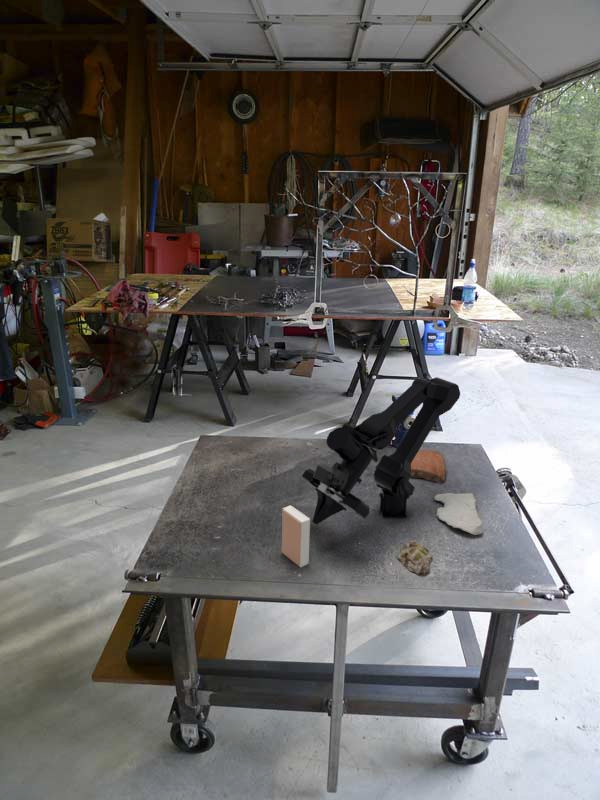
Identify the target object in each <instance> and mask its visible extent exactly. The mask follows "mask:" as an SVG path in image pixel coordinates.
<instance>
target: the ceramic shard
mask: <svg viewBox="0 0 600 800" xmlns="http://www.w3.org/2000/svg"><path fill="white" fill-rule="evenodd" d="M446 467H447V466H446V460H445V457H444V455H443V454H442V453H441V452H438V451H436V450H432V449H426V450H419V451H418V452H417V454H416V456H415V457H414V459H413V461H412V463H411V477H410V478H412V479H416V478H417V479H424V480H426V481H430V480H431V481H432V482H435V481H436V482H435V483H438V482H439V484H444V483H445V480H446V479H445V478H446V471H447V470H446V469H447V468H446Z"/></svg>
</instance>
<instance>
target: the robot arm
mask: <svg viewBox="0 0 600 800" xmlns="http://www.w3.org/2000/svg"><path fill="white" fill-rule="evenodd" d="M460 396H461V391H460V387H459V385H458V384H457V383H455V382H452V381H449V380H446V379H443V378H440V377H437V376H436V377H433V378H432V377H431V379H428V378H422V377H420V378H415V379H414V380H413V381H412V384H411V385H410V386H409V387H408V388H407V389H406V390H405V391H403V393H401V395H399V396H398V397H397V399H395V400H394V401H393V402H392V403H391V404H390V405H388V407H387V408H386V409H384V410H383V411H381V412H378V413H374V414H371V415H370V416H368V417H367V418H366V419H364V420H363V421H362V422H361V423H359V424H358V425H356V426H353V427H352V426H351V425H350V424H347V423H344V424H343V425H342V427H341V426H340V427H336V428H334V429H333V430H332V431H330V432H329V433H328V435H327V437H326V445H327V447H328V448H329V449H330V450H331V451H332V452H333V453H334V454H336V455H337V456H338V457H339V458H340V459H341V461H340V462H338V461H337V462H335V463H334V464H333V465H332V466H329V465H324V464H317V465H316V468H315V470H313V469H311V468H308V469H305V470H304V472H303V473H302V474H301V476H300V477H301V478H303V480H305V481H306V482H307V483H309V484H310V485H311V486H313V487H314V490H315V491H316V495H317V501H316V507H315V509H314V514H313V516H312V517H313V518H312V521H311V522H312V523H313V524H315V525H318V524H320V523H322V522H323V521H325V520H327V519H328V518H330V517H332V516H334V515H336V514H338V513H340V512H342V511H345V512H347V507H349V509H351V510H353V511H354V512H355V514H357V516H358V515H359V516H360V517H361V518H363V519H366V518H367V517H368V516H369V514H370V506H369V505H367V503H366V502H364V501H363V500H362V499H360V498H359V497H357V496H355V495H353V494H352V493H351V491H352V490H353V489H354V487H355V486H356V484H359V485H360V484H361V483H362V481H363V480H362V479H361V477H362V475H363V474H364V472H365V470H366V469H367V468H368V466H369V465H370V463H371V462H372V461H373V462H375V463H377V462H378V460H379V459H378V455H377V453H378V451H377V450H381V451H382V450H384V449H385V448H386V447H388V445H389V444H390V443H391V441H393V439H394V438H395V437H396V433H397V429H398V427H400V425H401V424H402V423H403V422H404V421H405V420H406V419H407V418H408V417H409V416H411V414H412V413H413V412H415V410H417V409H418V408H419V406H421V405H422V406H421V408H420V410H419V411H418V412H417V415H416V416H415V418H414V420H413V421H412V423H411V424H410V426H409V428H408V429H407V431H406V432H405V434H404V436H403V437H402V440H401V441H400V443H399V444H398V446H397V447H396V449H395V451H394V452H393V453H392V454H390V455H387V454H384V455H383V456H381V458H380V460H379V462H378V464H377V465H376V466H375V469H374V472H373V477H374V478H373V479H374V482H375V486H376V487H377V488H379V489H380V493H378V500H377V507H378V512H380V513H381V517H382V518H383V519H384V518H385V519H388V518H407V517H408V513H407V511H406V510H407V504H408V503H407V501H408V500H410V497H411V496H412V495H413V494H414V492H415V488H416V487H415V486H414V485H413V484H412V482H410V477H411V463H412V461H413V459H414V457H415V456H416V454H417V452H418V451H420V449H421V447H422V446H423V444H424V442H425V441H426V439H427V438H428V436H429V434H430V432H431V431H432V429H433V427H434V426H435V425H436V422H437V421H438V419H439V418H440V416H442V415H444V414H445V413H447V412H448V411H450V410H451V409H452V408H453V406H455V404H456V403H457V402H458V401H459V399H460Z"/></svg>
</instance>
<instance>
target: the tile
mask: <svg viewBox="0 0 600 800" xmlns="http://www.w3.org/2000/svg"><path fill="white" fill-rule="evenodd" d="M281 515H282V517H281V519H282V520H281V522H282V523H281V525H282V526H281V527H282V528H281V553H282V554H283V555H284V556H285V557H287V558H288V559H290V560H291V561H292V562H293V563H294V564H295V565H297V566H298V567H299V568H303V567H305V566H307V565H309V564H310V563H309V561H310V559H309V558H310V557H309V556H310V554H309V553H310V533H311V532H310V531H311V518H310V517H308V516H306V515H305V514H304V513H303V512H301V511H300V510H298V509H296V508H295V507H294V506H292V505H291V504H290V505H288V506H286V507H282V514H281Z"/></svg>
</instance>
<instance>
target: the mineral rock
mask: <svg viewBox="0 0 600 800" xmlns="http://www.w3.org/2000/svg"><path fill="white" fill-rule="evenodd" d="M396 559H398V560H399V561H400V562H401V564H402V565H403V566H404V567H406V569H408V570H409V571H410V572H413V573H415V574H417V575H421V576H423V575H424V576H426V575H427V574H428V573H430V571H431V568H430V563H431V562H432V561H433V559H434V557H433V555H432V554H431V553H429V550H428V548H427V547H425V546H424V545H422V544H420V543H419V542H418V541H417V540H414V539H413V540H411V541H409V542H406V543H405V544H404V545H402V547H400V550H399V551H398V552H397V557H396Z"/></svg>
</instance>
